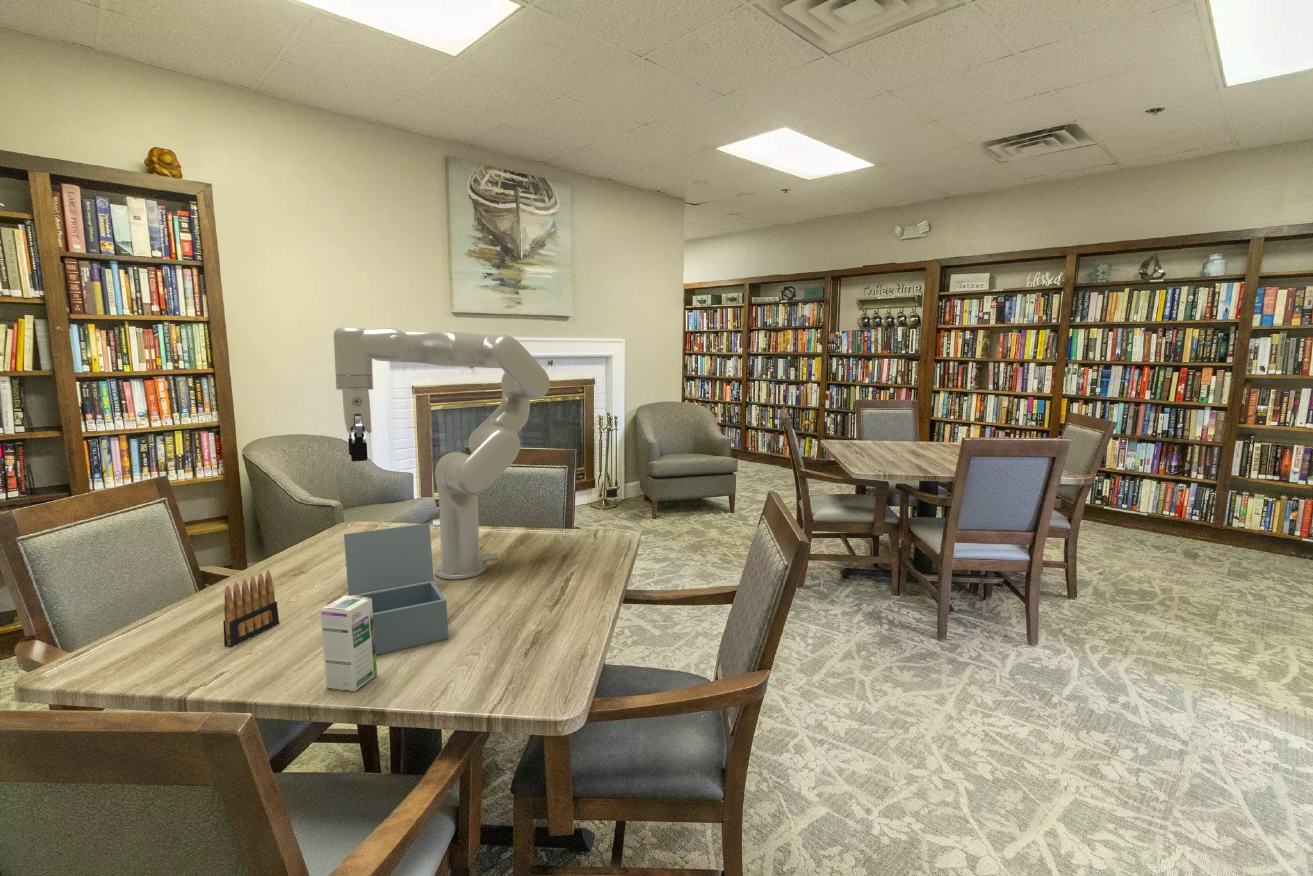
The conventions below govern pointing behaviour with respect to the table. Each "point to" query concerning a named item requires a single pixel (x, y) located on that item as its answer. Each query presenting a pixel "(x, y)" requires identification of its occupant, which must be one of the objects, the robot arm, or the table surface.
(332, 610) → the syrup box
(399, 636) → the box
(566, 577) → the table surface
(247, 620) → the ammunition clip
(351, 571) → the lid
